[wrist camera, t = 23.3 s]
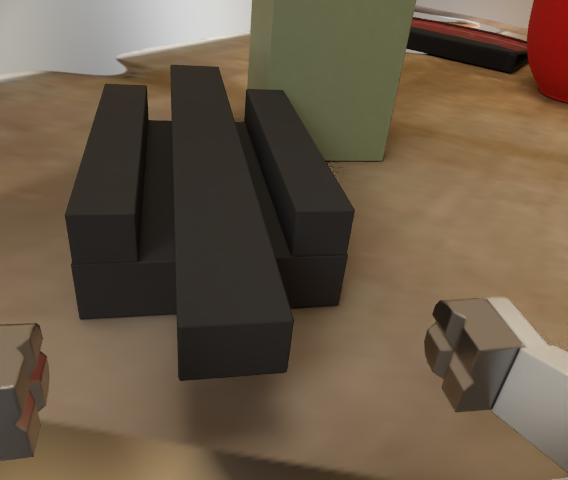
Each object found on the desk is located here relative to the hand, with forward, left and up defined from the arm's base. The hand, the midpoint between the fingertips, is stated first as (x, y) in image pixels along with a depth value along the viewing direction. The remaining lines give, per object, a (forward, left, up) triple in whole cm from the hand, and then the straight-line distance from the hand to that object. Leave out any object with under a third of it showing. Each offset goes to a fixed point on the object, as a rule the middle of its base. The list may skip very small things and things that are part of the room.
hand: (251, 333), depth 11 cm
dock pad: (0, +15, -6) cm, 16 cm away
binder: (+34, +58, -6) cm, 67 cm away
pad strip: (0, +14, -3) cm, 14 cm away
